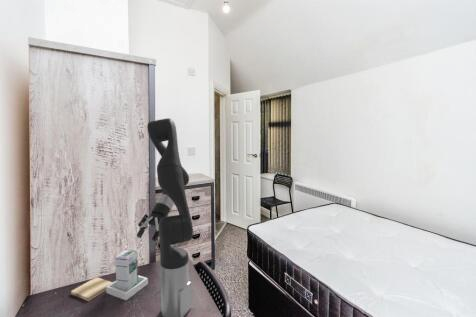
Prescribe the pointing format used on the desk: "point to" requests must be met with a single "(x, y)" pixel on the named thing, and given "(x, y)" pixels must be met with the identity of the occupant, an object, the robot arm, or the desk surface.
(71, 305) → the desk surface
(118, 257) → the syrup box
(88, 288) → the oak board
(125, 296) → the white square frame
